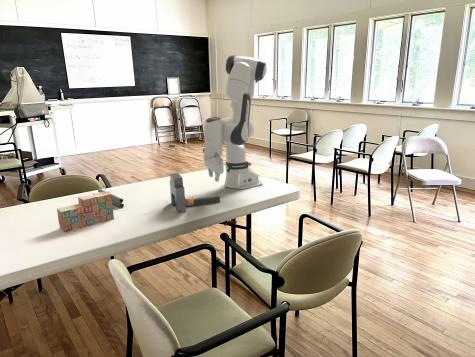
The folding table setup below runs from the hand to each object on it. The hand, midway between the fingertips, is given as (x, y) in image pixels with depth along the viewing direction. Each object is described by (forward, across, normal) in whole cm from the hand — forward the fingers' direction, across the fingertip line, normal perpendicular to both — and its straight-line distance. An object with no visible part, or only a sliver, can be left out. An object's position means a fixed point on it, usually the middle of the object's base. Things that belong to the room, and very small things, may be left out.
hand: (213, 178), depth 175 cm
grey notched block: (+13, +1, +18) cm, 22 cm away
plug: (+12, +1, +6) cm, 14 cm away
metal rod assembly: (+14, +24, +48) cm, 56 cm away
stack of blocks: (+14, -4, +59) cm, 61 cm away
